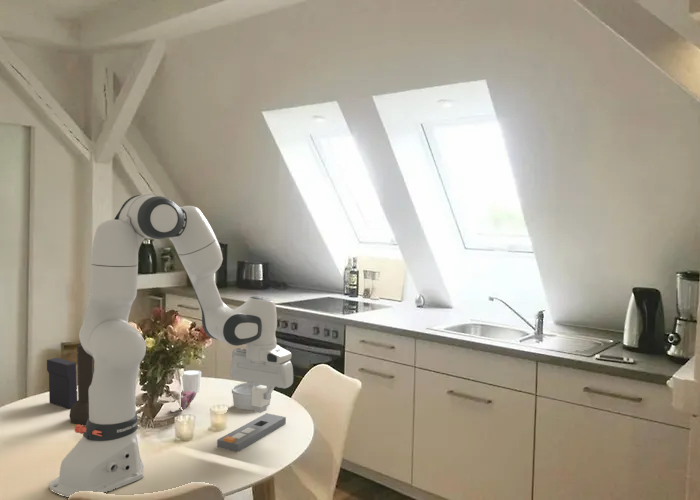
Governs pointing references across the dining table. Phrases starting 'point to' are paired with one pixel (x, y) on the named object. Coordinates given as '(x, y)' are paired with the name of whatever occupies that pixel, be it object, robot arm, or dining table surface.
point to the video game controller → (187, 398)
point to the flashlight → (82, 387)
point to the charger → (259, 398)
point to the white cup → (191, 380)
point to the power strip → (251, 432)
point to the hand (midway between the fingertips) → (260, 397)
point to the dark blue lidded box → (62, 382)
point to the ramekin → (243, 396)
